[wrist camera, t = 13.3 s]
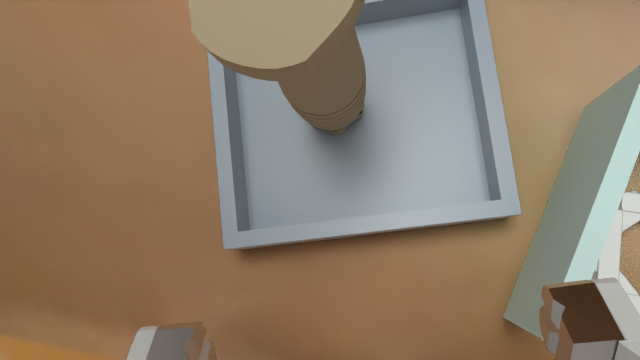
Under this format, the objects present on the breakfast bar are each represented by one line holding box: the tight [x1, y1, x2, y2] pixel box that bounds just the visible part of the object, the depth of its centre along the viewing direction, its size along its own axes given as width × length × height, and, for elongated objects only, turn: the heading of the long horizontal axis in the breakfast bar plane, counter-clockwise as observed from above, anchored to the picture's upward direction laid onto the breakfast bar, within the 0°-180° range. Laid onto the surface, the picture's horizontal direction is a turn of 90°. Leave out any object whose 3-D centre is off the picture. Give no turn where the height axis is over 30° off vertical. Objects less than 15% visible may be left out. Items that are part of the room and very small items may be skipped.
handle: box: [188, 0, 366, 135], centre depth 21 cm, size 5×6×15 cm
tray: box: [207, 0, 521, 250], centre depth 27 cm, size 15×13×3 cm
